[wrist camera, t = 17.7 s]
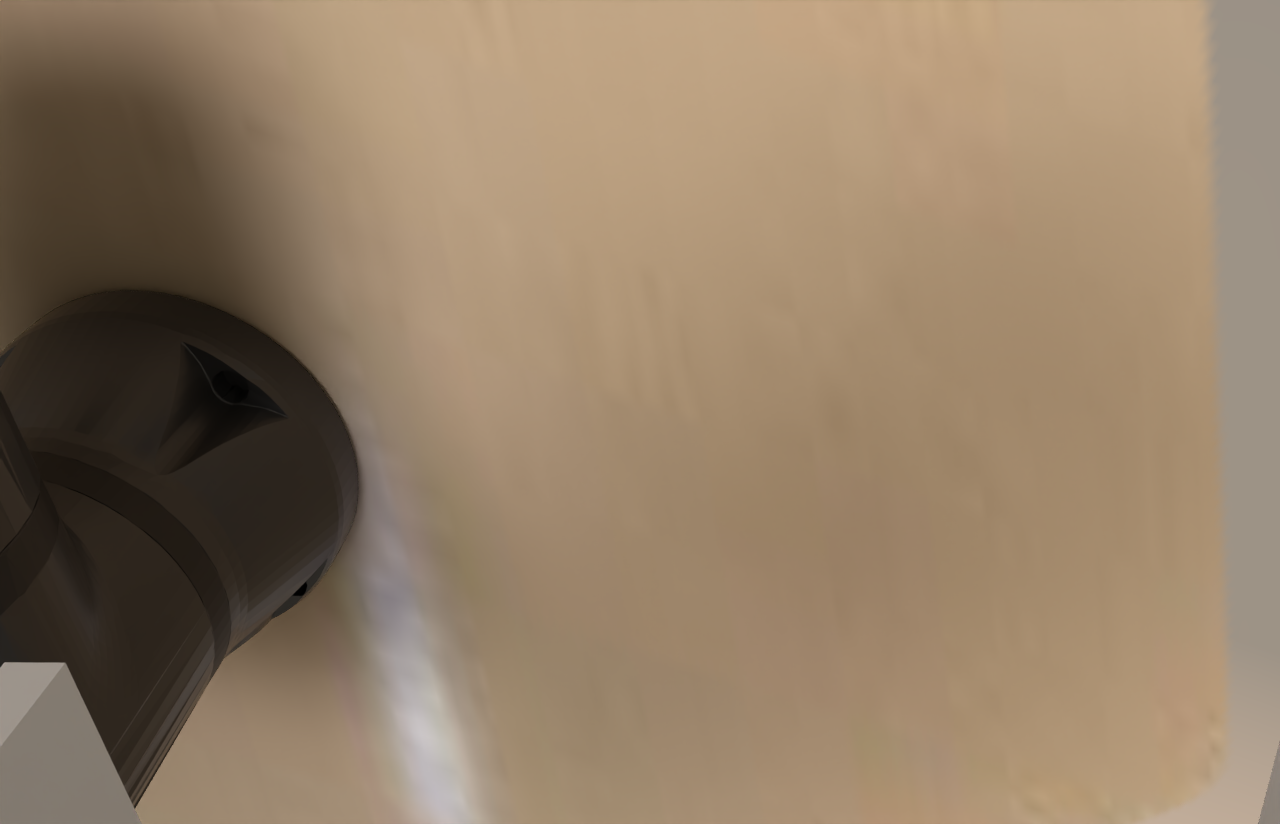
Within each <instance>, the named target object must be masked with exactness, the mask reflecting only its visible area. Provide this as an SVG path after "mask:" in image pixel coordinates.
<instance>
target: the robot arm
mask: <svg viewBox="0 0 1280 824" xmlns="http://www.w3.org/2000/svg"><path fill="white" fill-rule="evenodd" d="M357 501H358V474H357V466H356V461H355V456H354V452H353V449H352V446H351V442H350V440H349V437H348V434H347V432H346V430H345V427H344V425H343V423H342V421H341V419H340V417H339V415H338V413H337V412H336V410H335V408H334V406H333V405H332V403H331V402H330V400H329V399H328V397H327V396H326V394H325V393H324V392H323V390H322V389H321V388H320V386H319V385H318V384H317V383H316V381H315V380H314V379H313V378H312V377H311V376H310V374H309V373H308V372H307V371H306V370H305V369H304V368H303V367H302V366H301V365H300V364H299V363H298V362H297V361H296V360H295V359H294V358H293V357H292V356H291V355H289V354H288V353H287V352H286V351H285V350H284V349H282V348H281V347H280V346H279V345H277V344H276V343H275V342H274V341H272V340H271V339H269V338H268V337H267V336H265V335H264V334H262V333H261V332H259V331H258V330H256V329H255V328H253V327H251V326H250V325H248V324H246V323H244V322H243V321H241V320H239V319H237V318H235V317H233V316H231V315H229V314H227V313H225V312H223V311H220V310H218V309H216V308H213V307H211V306H208V305H205V304H202V303H199V302H197V301H193V300H190V299H186V298H183V297H179V296H174V295H169V294H164V293H157V292H148V291H112V292H105V293H98V294H94V295H89V296H85V297H82V298H79V299H76V300H73V301H71V302H68V303H66V304H64V305H62V306H60V307H58V308H56V309H54V310H53V311H51V312H50V313H48V314H47V315H45V316H44V317H42V318H41V319H40V320H39V321H37V322H36V323H35V324H34V325H32V326H31V327H30V328H29V329H27V330H26V331H25V332H24V333H22V334H21V335H20V336H18V337H17V338H16V339H15V340H14V341H12V342H11V343H10V344H9V345H8V346H7V347H6V348H5V349H4V350H3V351H2V352H1V353H0V824H141V821H140V819H139V817H138V815H137V813H136V811H135V808H136V806H137V804H138V803H139V801H140V799H141V798H142V796H143V794H144V792H145V791H146V789H147V787H148V786H149V784H150V782H151V780H152V779H153V777H154V775H155V774H156V772H157V770H158V769H159V767H160V765H161V763H162V762H163V760H164V758H165V757H166V755H167V753H168V752H169V750H170V748H171V746H172V745H173V743H174V741H175V740H176V738H177V736H178V734H179V733H180V731H181V729H182V728H183V726H184V724H185V723H186V721H187V719H188V717H189V716H190V714H191V712H192V711H193V709H194V707H195V706H196V704H197V702H198V700H199V699H200V697H201V695H202V694H203V692H204V690H205V688H206V686H207V685H208V683H209V682H210V680H211V678H212V677H213V675H214V674H215V672H216V670H217V669H218V667H219V666H220V664H221V662H222V661H223V659H224V658H225V657H226V656H228V655H229V654H230V653H232V652H233V651H234V650H236V649H237V648H238V647H240V646H241V645H242V644H244V643H245V642H246V641H248V640H249V639H250V638H251V637H253V636H254V635H255V634H256V633H258V632H259V631H260V630H261V629H262V628H263V627H264V626H265V625H266V624H267V623H268V622H269V621H270V620H271V619H272V618H274V617H277V616H279V615H280V614H282V613H284V612H285V611H287V610H288V609H290V608H291V607H293V606H294V605H295V604H297V603H298V602H299V601H301V600H302V599H303V598H304V597H305V596H306V595H308V594H309V593H310V592H311V591H312V589H313V588H314V587H315V586H316V585H317V584H318V583H319V582H320V580H321V579H322V578H323V576H324V575H325V574H326V572H327V571H328V569H329V567H330V566H331V564H332V562H333V561H334V559H335V557H336V555H337V553H338V552H339V550H340V548H341V546H342V544H343V543H344V541H345V539H346V537H347V535H348V533H349V531H350V528H351V526H352V523H353V520H354V516H355V512H356V507H357ZM1258 824H1280V742H1279V746H1278V750H1277V754H1276V758H1275V761H1274V766H1273V769H1272V773H1271V777H1270V781H1269V784H1268V788H1267V792H1266V796H1265V800H1264V804H1263V807H1262V811H1261V815H1260V819H1259V823H1258Z"/></svg>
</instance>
